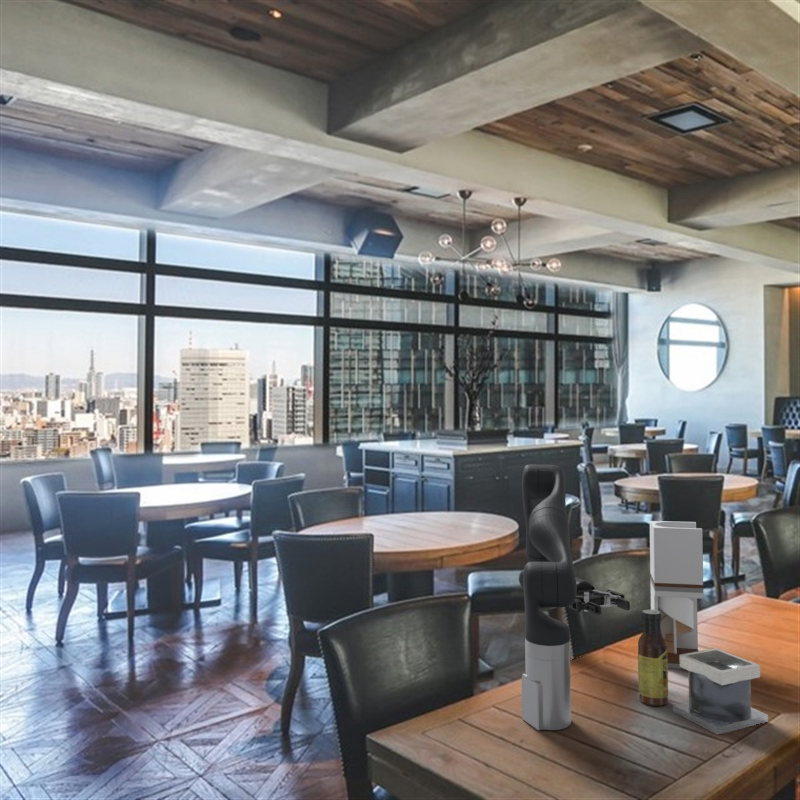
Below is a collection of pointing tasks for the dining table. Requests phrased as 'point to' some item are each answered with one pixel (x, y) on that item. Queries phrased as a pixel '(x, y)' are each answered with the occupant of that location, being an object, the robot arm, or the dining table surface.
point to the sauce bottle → (652, 661)
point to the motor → (719, 691)
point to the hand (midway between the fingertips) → (614, 608)
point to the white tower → (676, 584)
